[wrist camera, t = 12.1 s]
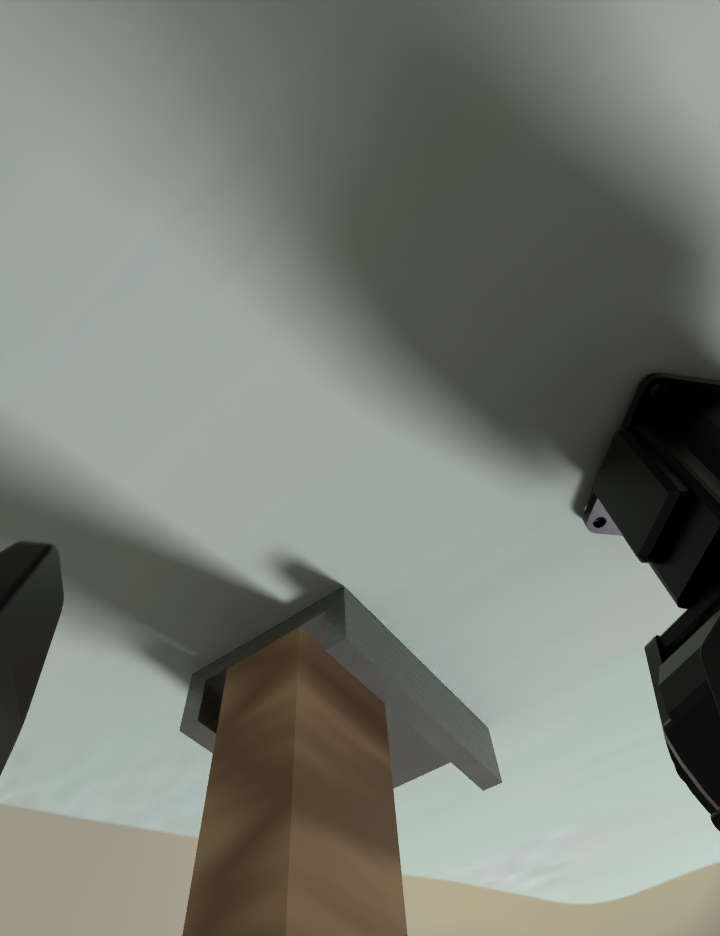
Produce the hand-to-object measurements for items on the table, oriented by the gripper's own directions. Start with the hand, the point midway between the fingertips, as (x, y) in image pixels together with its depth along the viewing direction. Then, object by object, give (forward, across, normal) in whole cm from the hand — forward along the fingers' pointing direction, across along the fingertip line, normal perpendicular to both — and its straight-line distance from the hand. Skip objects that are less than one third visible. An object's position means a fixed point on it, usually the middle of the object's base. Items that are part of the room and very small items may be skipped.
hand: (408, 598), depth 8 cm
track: (+13, -2, +19) cm, 23 cm away
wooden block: (+12, 0, +17) cm, 21 cm away
